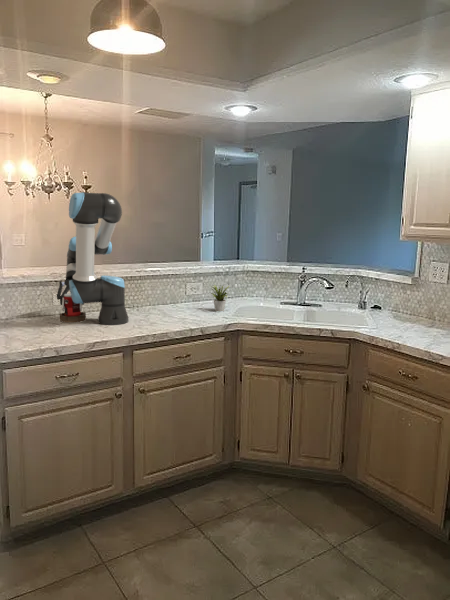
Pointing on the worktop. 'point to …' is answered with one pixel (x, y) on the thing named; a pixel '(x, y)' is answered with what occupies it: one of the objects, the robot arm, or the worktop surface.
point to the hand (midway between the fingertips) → (71, 309)
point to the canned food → (71, 306)
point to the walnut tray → (73, 318)
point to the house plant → (219, 298)
